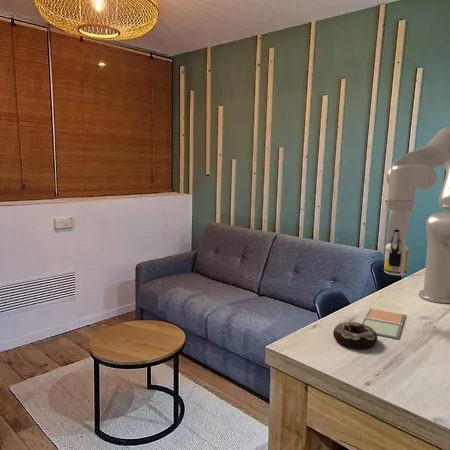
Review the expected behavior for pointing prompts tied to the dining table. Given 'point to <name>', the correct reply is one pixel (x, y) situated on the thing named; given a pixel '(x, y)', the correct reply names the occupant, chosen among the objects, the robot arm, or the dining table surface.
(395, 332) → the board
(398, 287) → the dining table surface
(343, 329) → the donut
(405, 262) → the pill bottle
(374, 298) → the dining table surface
